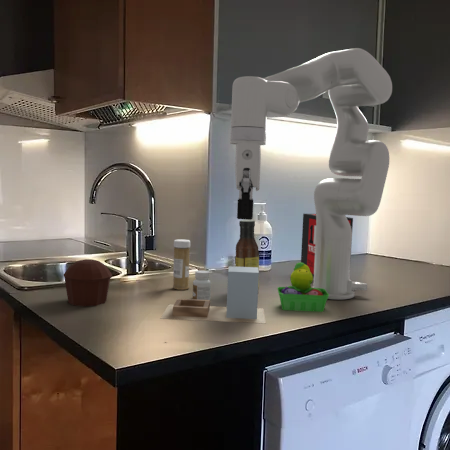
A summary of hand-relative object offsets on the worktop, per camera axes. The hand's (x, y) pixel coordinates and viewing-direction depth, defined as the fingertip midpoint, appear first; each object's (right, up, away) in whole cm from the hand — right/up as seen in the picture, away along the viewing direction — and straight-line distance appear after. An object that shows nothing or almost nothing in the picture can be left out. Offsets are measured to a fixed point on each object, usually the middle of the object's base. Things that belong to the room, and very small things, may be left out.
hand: (244, 217), depth 109 cm
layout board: (-7, -22, +2) cm, 23 cm away
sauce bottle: (+1, -20, +25) cm, 32 cm away
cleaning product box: (+27, -19, +54) cm, 63 cm away
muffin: (-37, -20, +12) cm, 44 cm away
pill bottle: (-10, -21, +15) cm, 28 cm away
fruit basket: (+14, -22, +10) cm, 28 cm away
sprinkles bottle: (-16, -19, +30) cm, 40 cm away
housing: (-1, -21, +2) cm, 21 cm away
